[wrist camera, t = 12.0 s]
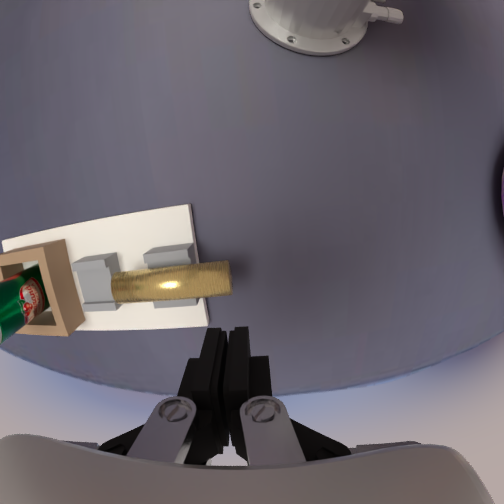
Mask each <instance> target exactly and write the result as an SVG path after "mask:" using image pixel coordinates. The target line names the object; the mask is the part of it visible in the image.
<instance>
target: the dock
mask: <svg viewBox="0 0 504 504" xmlns="http://www.w3.org/2000/svg"><path fill="white" fill-rule="evenodd" d="M2 245H3V250H4V253H1V254H0V281H2V280H4V279H6V278H8V277H10V276H12V275H14V274H16V273H18V272H20V271H22V270H24V269H27V268H29V267H31V266H33V265H35V264H37V263H39V267H40V271H41V275H42V279H43V283H44V287H45V290H46V294H47V297H48V300H49V304H50V307H49V308H48V309H47V310H45V311H44V312H42V313H41V314H40V315H38V316H37V317H36V318H34V319H33V320H32V321H30V322H29V323H28V324H26V325H25V326H24V327H22V328H21V329H20V330H18V331H17V332H16V333H20V334H33V335H50V336H69V335H70V334H71V333H73V332H74V331H75V330H142V329H167V328H185V327H200V326H208V324H209V316H208V311H207V305H206V300H205V298H195V299H183V300H170V301H157V302H142V303H126V304H118V303H116V302H115V300H114V299H113V296H112V293H111V278H112V275H113V274H114V273H115V272H121V271H131V270H140V269H150V268H159V267H169V266H178V265H188V264H197V263H199V258H198V252H197V245H196V238H195V232H194V225H193V217H192V210H191V204H184V205H177V206H171V207H164V208H158V209H152V210H145V211H139V212H134V213H128V214H122V215H117V216H111V217H106V218H101V219H95V220H90V221H85V222H80V223H75V224H71V225H66V226H61V227H57V228H52V229H48V230H43V231H39V232H35V233H30V234H26V235H22V236H18V237H14V238H10V239H6V240H3V241H2Z"/></svg>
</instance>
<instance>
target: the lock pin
mask: <svg viewBox="0 0 504 504" xmlns="http://www.w3.org/2000/svg"><path fill="white" fill-rule="evenodd" d="M111 293H112V296H113V299H114V300H115V302H116V303H118V304H126V303H142V302H157V301H170V300H183V299H195V298H206V297H217V296H227V295H232V294H233V285H232V275H231V268H230V263H229V260H225V261H215V262H206V263H197V264H188V265H178V266H169V267H159V268H150V269H140V270H131V271H121V272H115V273H114V274H113V275H112V278H111Z"/></svg>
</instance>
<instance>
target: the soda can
mask: <svg viewBox="0 0 504 504" xmlns="http://www.w3.org/2000/svg"><path fill="white" fill-rule="evenodd" d="M49 307H50V304H49V300H48V297H47V294H46V290H45V287H44V283H43V279H42V275H41V271H40V267H39V263H37V264H35V265H33V266H31V267H29V268H27V269H24V270H22V271H20V272H18V273H16V274H14V275H12V276H10V277H8V278H6V279H4V280H2V281H0V344H2V343H3V342H4V341H6V340H7V339H8V338H9V337H11V336H12V335H13V334H14V333H16V332H17V331H18V330H20V329H21V328H22V327H24V326H25V325H26V324H28V323H29V322H30V321H32V320H33V319H34V318H36V317H37V316H38V315H40V314H41V313H42V312H44V311H45V310H47V309H48V308H49Z"/></svg>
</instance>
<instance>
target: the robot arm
mask: <svg viewBox="0 0 504 504" xmlns="http://www.w3.org/2000/svg"><path fill="white" fill-rule="evenodd" d="M371 1H373V2H371ZM385 1H386V0H249V11H250V15H251V17H252V20H253V22H254V23H255V25H256V26H257V28H258V29H259V30H260V31H261V32H262V33H263V34H264V35H265V36H266V37H268V38H269V39H271V40H272V41H273V42H275V43H277V44H279V45H281V46H283V47H285V48H287V49H290V50H293V51H295V52H299V53H304V54H308V55H319V56H323V55H334V54H339V53H342V52H345V51H347V50H350V49H351V48H352V47H354V46H355V45H357V44H358V42H359V41H360V40H361V39H362V38H363V36H364V34H365V33H366V30H367V26H368V21H371V22H374V21H376V19H377V20H383V21H384V22H390V23H395V24H401V23H402V21H403V13H402V11H401V10H399V9H395V8H390V7H385V6H384V7H382V6H377V5H376V4H375V3H374V2H378V3H385ZM290 42H293V43H290ZM229 434H230V435H231V441H232V446H235V449H236V453H237V454H238V455H239V456H240V457H242V458H243V459H245V460H246V461H247V464H248V466H211V458H212V457H214V456H215V455H217V454H223V446H228V445H229ZM0 504H495V503H494V501H493V499H492V497H491V495H490V494H489V492H488V490H487V489H486V487H485V485H484V484H483V482H482V480H481V479H480V477H479V476H478V474H477V473H476V471H475V470H474V469H473V467H472V466H471V465H470V464H469V462H468V461H467V460H466V459H465V458H464V457H463V456H462V455H461V454H460V453H459V452H457V451H456V450H454V449H452V448H450V447H447V446H443V445H433V444H421V443H418V442H415V441H406V442H396V443H385V444H369V445H357V446H356V448H348V447H347V446H345V445H343V444H342V443H340V442H337V441H335V440H333V439H331V438H329V437H326V436H324V435H322V434H320V433H318V432H316V431H314V430H312V429H310V428H308V427H306V426H304V425H302V424H300V423H298V422H296V421H294V420H292V419H291V418H289V415H288V413H287V410H286V407H285V405H284V404H283V402H281V401H280V400H279V399H277V398H275V397H272V389H271V379H270V368H269V358H268V356H255V357H251V355H250V342H249V330H248V326H247V327H235V330H234V331H230V333H229V341H227V333H226V331H222V330H221V328H207V331H206V335H205V339H204V342H203V346H202V350H201V354H200V357H199V358H190V359H189V360H188V363H187V366H186V369H185V372H184V375H183V378H182V382H181V385H180V388H179V391H178V395H177V396H175V397H169V398H166V399H164V400H162V401H161V402H159V403H158V404H157V405H156V407H155V408H154V410H153V412H152V413H151V415H150V417H149V418H148V420H147V422H146V423H145V424H144V425H141V426H139V427H137V428H135V429H133V430H131V431H129V432H127V433H124V434H122V435H120V436H118V437H115V438H113V439H111V440H109V441H107V442H105V443H103V444H102V445H101V446H99V445H98V443H88V442H72V441H60V440H56V439H53V438H48V437H43V436H38V435H30V434H14V435H8V436H5V437H3V438H2V439H0Z"/></svg>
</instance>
